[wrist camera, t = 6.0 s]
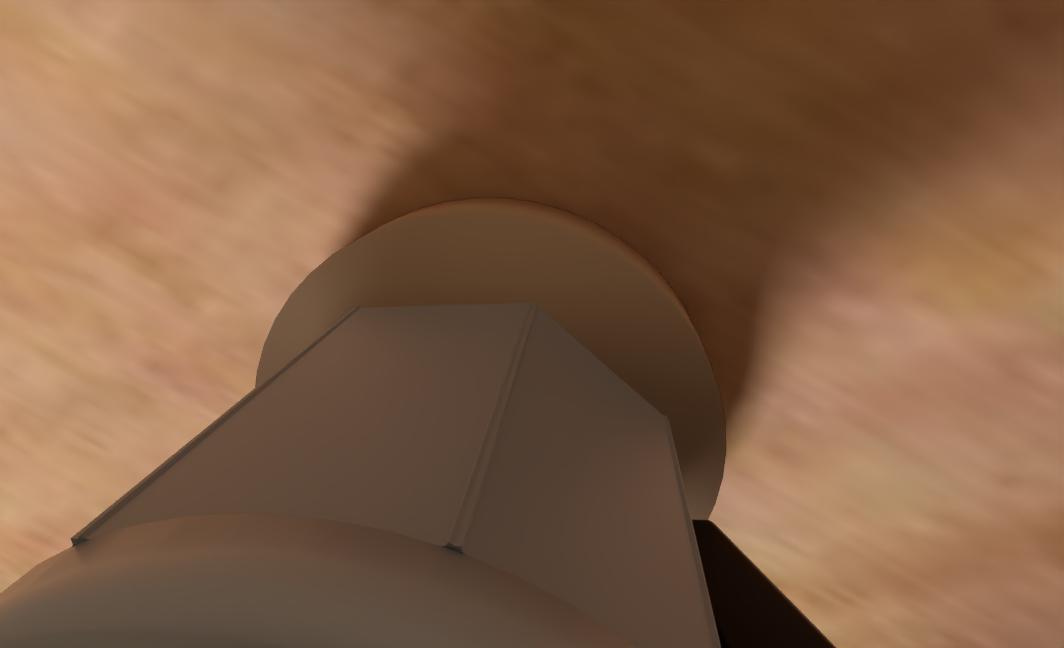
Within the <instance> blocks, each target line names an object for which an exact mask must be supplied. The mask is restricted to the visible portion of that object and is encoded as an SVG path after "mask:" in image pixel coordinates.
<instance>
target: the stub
mask: <svg viewBox="0 0 1064 648" xmlns="http://www.w3.org/2000/svg"><path fill="white" fill-rule="evenodd" d="M531 301H533V302H534V303H536V302H537V303H538V307H540V308H541V309H542V310H543V311H544V312H545V313H546V314H548V315H549V316H550V317H551V318H552V319H553V320H554V321H556V322H557V323H558V324H559V325H560V326H561V327H562V328H564V329H565V330H566V331H567V332H568V333H569V334H570V335H572V336H573V337H574V338H575V339H576V340H577V341H579V342H580V343H581V344H582V345H583V346H584V347H585V348H587V349H588V350H589V351H590V352H591V353H592V354H593V355H595V356H596V357H597V358H598V359H599V360H600V361H601V362H603V363H604V364H605V365H606V366H607V367H608V368H609V369H611V370H612V371H613V372H614V373H615V374H616V375H617V376H619V377H620V378H621V379H622V380H623V381H624V382H626V383H627V384H628V385H629V386H630V387H631V388H632V389H634V390H635V391H636V392H637V393H638V394H639V395H640V396H642V397H643V398H644V399H645V400H646V401H647V402H648V403H650V404H651V405H652V406H653V407H654V408H655V409H656V410H658V411H659V412H660V413H661V414H662V415H663V416H667V418H668V420H669V423H670V427H671V432H672V436H673V441H674V445H675V449H676V454H677V458H678V462H679V467H680V471H681V475H682V480H683V484H684V488H685V493H686V497H687V501H688V506H689V510H690V514H691V519H692V520H708V518H709V516H710V514H711V512H712V510H713V507H714V505H715V503H716V499H717V496H718V492H719V489H720V485H721V482H722V479H723V472H724V464H725V456H726V421H725V416H724V410H723V405H722V399H721V394H720V390H719V387H718V384H717V381H716V378H715V375H714V373H713V370H712V367H711V364H710V361H709V359H708V357H707V355H706V352H705V350H704V348H703V346H702V343H701V341H700V339H699V337H698V334H697V332H696V330H695V328H694V326H693V324H692V322H691V320H690V318H689V316H688V314H687V312H686V310H685V308H684V306H683V304H682V303H681V301H680V300H679V298H678V297H677V295H676V294H675V293H674V291H673V290H672V288H671V287H670V286H669V284H668V283H667V281H666V280H665V279H664V278H663V277H662V276H661V275H660V274H659V272H658V271H657V270H656V269H655V268H654V267H653V266H652V265H651V264H650V263H649V262H648V261H647V260H646V259H645V258H644V257H643V256H642V255H640V254H639V253H638V252H637V251H635V250H634V249H633V248H632V247H631V246H629V245H628V244H627V243H626V242H624V241H623V240H622V239H620V238H619V237H617V236H615V235H614V234H612V233H610V232H609V231H607V230H605V229H604V228H602V227H600V226H599V225H597V224H595V223H593V222H591V221H589V220H586V219H584V218H582V217H579V216H577V215H575V214H573V213H570V212H568V211H565V210H561V209H558V208H554V207H551V206H548V205H544V204H541V203H537V202H530V201H523V200H517V199H510V198H470V199H462V200H454V201H447V202H443V203H439V204H435V205H431V206H428V207H424V208H420V209H418V210H415V211H413V212H410V213H408V214H406V215H403V216H401V217H399V218H396V219H394V220H392V221H390V222H388V223H386V224H385V225H383V226H381V227H379V228H377V229H375V230H374V231H372V232H370V233H368V234H366V235H364V236H363V237H361V238H359V239H357V240H356V241H354V242H352V243H351V244H349V245H347V246H346V247H344V248H342V249H341V250H339V251H337V252H336V253H334V254H333V255H331V256H330V257H329V258H328V259H327V260H325V261H324V262H323V263H322V264H321V265H319V266H318V267H317V268H316V269H315V270H313V271H312V272H311V273H310V274H309V275H308V276H307V277H306V278H305V279H304V281H303V282H302V283H301V284H300V285H299V286H298V287H297V289H296V290H295V291H294V292H293V293H292V294H291V295H290V297H289V298H288V300H287V302H286V303H285V305H284V306H283V308H282V309H281V311H280V313H279V314H278V316H277V317H276V319H275V321H274V323H273V325H272V328H271V330H270V332H269V335H268V337H267V339H266V341H265V344H264V347H263V351H262V354H261V358H260V362H259V366H258V370H257V377H256V386H255V388H256V387H257V386H258V385H260V384H261V383H262V382H263V381H265V380H266V379H267V378H268V377H269V376H271V375H272V374H273V373H274V372H276V371H277V370H278V369H279V368H280V367H282V366H283V365H284V364H285V363H287V362H288V361H289V360H290V359H291V358H293V357H294V356H295V355H296V354H298V353H299V352H300V351H301V350H303V349H304V348H305V347H306V346H307V345H309V344H310V343H311V342H312V341H314V340H315V339H316V338H317V337H318V336H320V335H321V334H322V333H323V332H325V331H326V330H327V329H328V328H329V327H331V326H332V325H333V324H334V323H336V322H337V321H338V320H339V319H341V318H342V317H343V316H344V315H345V314H347V313H348V312H349V311H350V310H352V309H353V308H356V307H358V306H359V307H360V308H373V307H405V306H438V305H470V304H503V303H530V302H531Z"/></svg>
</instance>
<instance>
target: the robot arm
mask: <svg viewBox="0 0 1064 648" xmlns="http://www.w3.org/2000/svg"><path fill="white" fill-rule="evenodd" d="M692 523H693V527H694V532H695V536H696V540H697V545H698V549H699V553H700V558H701V562H702V567H703V571H704V575H705V580H706V584H707V588H708V593H709V597H710V601H711V606H712V610H713V614H714V619H715V623H716V627H717V632H718V636H719V640H720V645H721V648H836V647H835V646H834V645H833V644H832V643H831V642H830V641H829V640H828V639H827V638H826V637H825V636H824V635H823V634H822V633H821V631H820V630H819V629H818V628H817V627H816V626H815V625H814V624H813V623H812V622H811V621H810V620H809V619H808V618H807V617H806V616H805V615H804V614H803V613H802V612H801V611H800V610H799V609H798V608H797V607H796V606H795V605H794V604H793V603H792V602H791V601H790V600H789V599H788V598H787V597H786V596H785V595H784V594H783V593H782V592H781V591H780V590H779V589H778V588H777V587H776V586H775V585H774V584H773V583H772V582H771V581H770V580H769V579H768V578H767V577H766V576H765V575H764V574H763V573H762V572H761V571H760V569H759V568H758V567H757V566H756V565H755V564H754V563H753V562H752V561H751V560H750V559H749V558H748V557H747V556H746V555H745V554H744V553H743V552H742V551H741V550H740V549H739V548H738V547H737V546H736V545H735V544H734V543H733V542H732V541H731V540H730V539H729V538H728V537H727V536H726V535H725V534H724V533H723V532H722V531H721V530H720V529H719V528H718V527H717V526H716V525H715V524H714V523H713V522H711V521H710V520H692Z"/></svg>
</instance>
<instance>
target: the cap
mask: <svg viewBox="0 0 1064 648" xmlns="http://www.w3.org/2000/svg"><path fill="white" fill-rule="evenodd" d="M71 541H72V543H73V546H72V547H71V548H69V549H67V550H65V551H63V552H61V553H59V554H57V555H55V556H53V557H51V558H49V559H47V560H45V561H44V562H42V563H40V564H38V565H36V566H35V567H34V568H33V569H31V570H30V571H29V572H27V573H26V574H25V575H24V576H22V577H21V578H20V579H18V580H17V581H16V582H15V583H13V584H12V585H11V586H9V587H8V588H7V589H6V590H4V591H3V592H2V593H1V594H0V648H721V645H720V640H719V636H718V632H717V627H716V623H715V619H714V614H713V610H712V606H711V601H710V597H709V593H708V588H707V584H706V580H705V575H704V571H703V567H702V562H701V558H700V553H699V549H698V545H697V540H696V536H695V532H694V527H693V523H692V519H691V514H690V510H689V506H688V501H687V497H686V493H685V488H684V484H683V480H682V475H681V471H680V467H679V462H678V458H677V454H676V449H675V445H674V441H673V436H672V432H671V427H670V423H669V420H668V418H667V416H663V415H662V414H661V413H660V412H659V411H658V410H656V409H655V408H654V407H653V406H652V405H651V404H650V403H648V402H647V401H646V400H645V399H644V398H643V397H642V396H640V395H639V394H638V393H637V392H636V391H635V390H634V389H632V388H631V387H630V386H629V385H628V384H627V383H626V382H624V381H623V380H622V379H621V378H620V377H619V376H617V375H616V374H615V373H614V372H613V371H612V370H611V369H609V368H608V367H607V366H606V365H605V364H604V363H603V362H601V361H600V360H599V359H598V358H597V357H596V356H595V355H593V354H592V353H591V352H590V351H589V350H588V349H587V348H585V347H584V346H583V345H582V344H581V343H580V342H579V341H577V340H576V339H575V338H574V337H573V336H572V335H570V334H569V333H568V332H567V331H566V330H565V329H564V328H562V327H561V326H560V325H559V324H558V323H557V322H556V321H554V320H553V319H552V318H551V317H550V316H549V315H548V314H546V313H545V312H544V311H543V310H542V309H541V308H540V307H538V303H537V302H536V303H534V302H533V301H531V302H530V303H503V304H470V305H438V306H405V307H373V308H360V307H359V306H358V307H356V308H353V309H352V310H350V311H349V312H348V313H347V314H345V315H344V316H343V317H342V318H341V319H339V320H338V321H337V322H336V323H334V324H333V325H332V326H331V327H329V328H328V329H327V330H326V331H325V332H323V333H322V334H321V335H320V336H318V337H317V338H316V339H315V340H314V341H312V342H311V343H310V344H309V345H307V346H306V347H305V348H304V349H303V350H301V351H300V352H299V353H298V354H296V355H295V356H294V357H293V358H291V359H290V360H289V361H288V362H287V363H285V364H284V365H283V366H282V367H280V368H279V369H278V370H277V371H276V372H274V373H273V374H272V375H271V376H269V377H268V378H267V379H266V380H265V381H263V382H262V383H261V384H260V385H258V386H257V387H256V388H255V389H253V390H252V391H251V392H250V393H249V394H247V395H246V396H245V397H244V398H242V399H241V400H240V401H239V402H238V403H236V404H235V405H234V406H233V407H231V408H230V409H229V410H228V411H227V412H225V413H224V414H223V415H222V416H220V417H219V418H218V419H217V420H215V421H214V422H213V423H212V424H211V425H209V426H208V427H207V428H206V429H204V430H203V431H202V432H201V433H200V434H198V435H197V436H196V437H195V438H193V439H192V440H191V441H190V442H189V443H187V444H186V445H185V446H184V447H182V448H181V449H180V450H179V451H177V452H176V453H175V454H174V455H173V456H171V457H170V458H169V459H168V460H166V461H165V462H164V463H163V464H162V465H160V466H159V467H158V468H157V469H155V470H154V471H153V472H152V473H151V474H149V475H148V476H147V477H146V478H144V479H143V480H142V481H141V482H139V483H138V484H137V485H136V486H135V487H133V488H132V489H131V490H130V491H128V492H127V493H126V494H125V495H124V496H122V497H121V498H120V499H119V500H117V501H116V502H115V503H114V504H113V505H111V506H110V507H109V508H108V509H106V510H105V511H104V512H103V513H101V514H100V515H99V516H98V517H97V518H95V519H94V520H93V521H92V522H90V523H89V524H88V525H87V526H86V527H84V528H83V529H82V530H81V531H79V532H78V533H77V534H76V535H75V536H73V537H72V538H71Z"/></svg>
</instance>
